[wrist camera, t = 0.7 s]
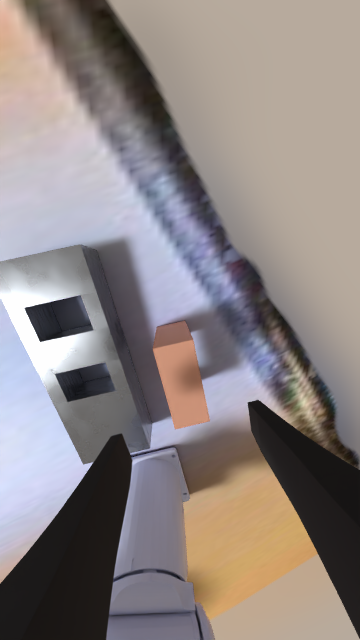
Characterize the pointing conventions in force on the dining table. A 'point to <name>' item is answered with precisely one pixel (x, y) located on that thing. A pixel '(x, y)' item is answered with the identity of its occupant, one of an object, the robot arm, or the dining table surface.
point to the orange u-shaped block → (180, 374)
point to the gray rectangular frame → (77, 347)
